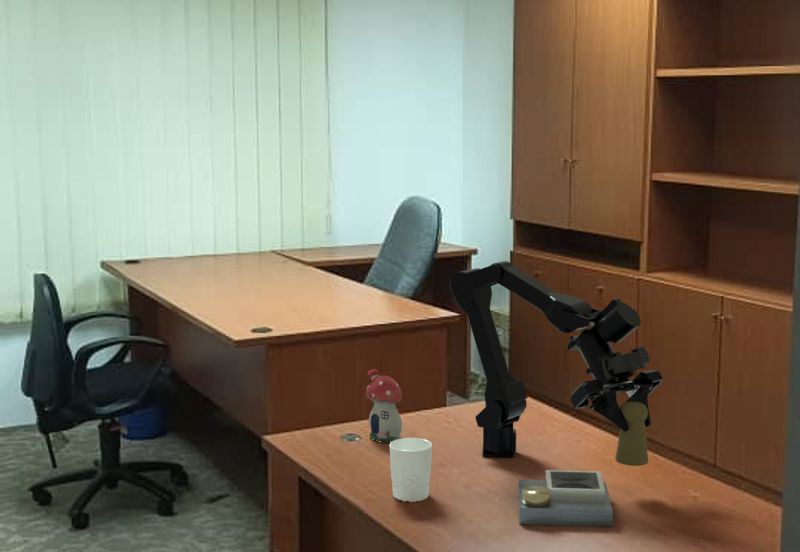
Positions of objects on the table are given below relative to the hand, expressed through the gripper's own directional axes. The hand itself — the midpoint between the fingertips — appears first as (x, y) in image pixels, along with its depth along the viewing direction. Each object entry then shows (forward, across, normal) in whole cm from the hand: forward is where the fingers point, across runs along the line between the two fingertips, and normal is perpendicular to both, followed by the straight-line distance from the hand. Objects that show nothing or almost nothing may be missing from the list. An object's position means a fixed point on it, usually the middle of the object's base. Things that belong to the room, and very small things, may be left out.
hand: (638, 428), depth 195 cm
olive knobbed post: (+4, 0, +6) cm, 7 cm away
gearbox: (+8, -16, +10) cm, 21 cm away
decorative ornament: (-29, -23, +49) cm, 61 cm away
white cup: (-6, -36, +25) cm, 44 cm away
